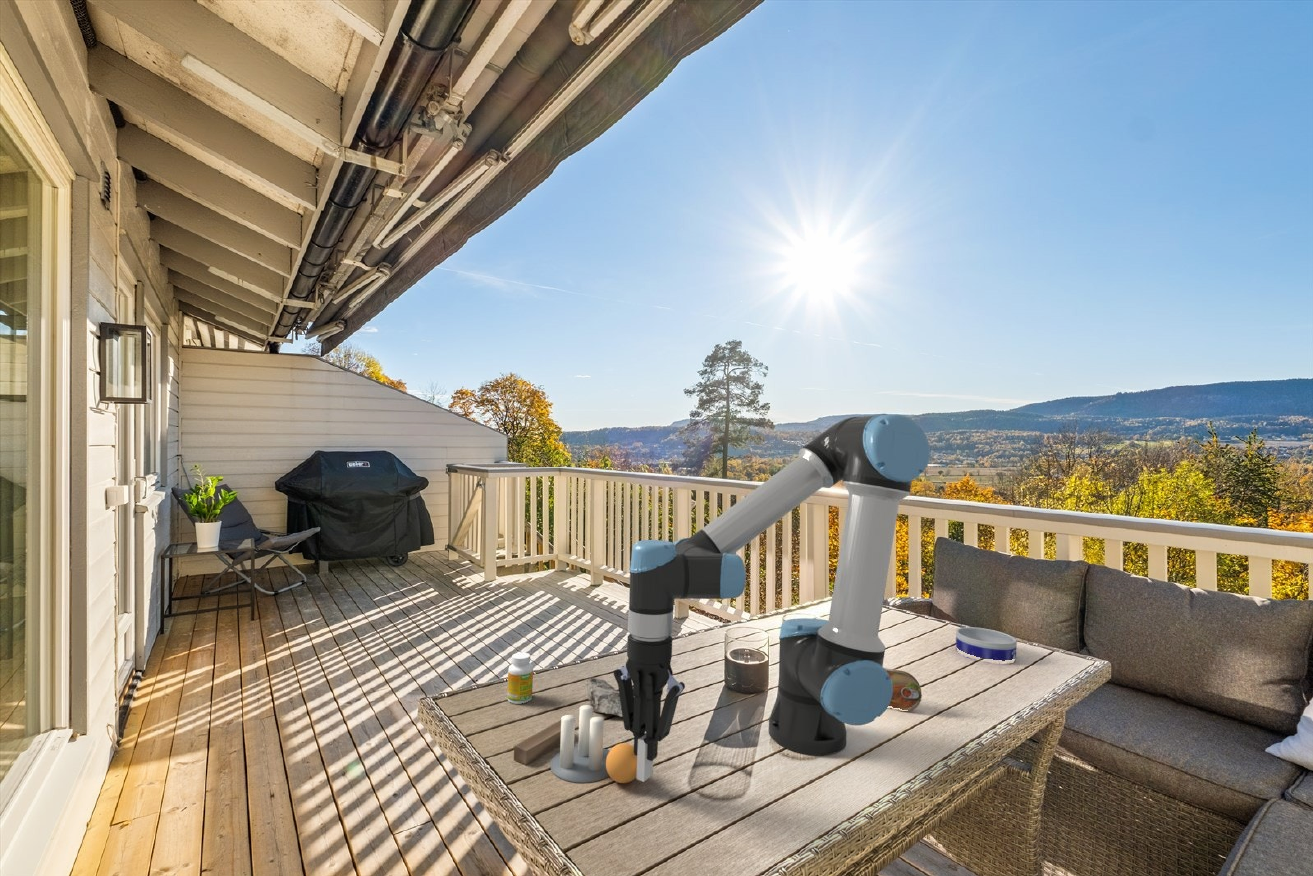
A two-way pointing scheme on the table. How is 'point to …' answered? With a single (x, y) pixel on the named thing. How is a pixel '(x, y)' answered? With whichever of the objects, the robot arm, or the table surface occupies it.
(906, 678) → the tin
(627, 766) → the ball
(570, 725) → the pin
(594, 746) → the front pin
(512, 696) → the supplement bottle
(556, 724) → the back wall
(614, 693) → the mineral rock
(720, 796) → the table surface
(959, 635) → the dog bowl
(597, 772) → the pin disc
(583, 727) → the pin
